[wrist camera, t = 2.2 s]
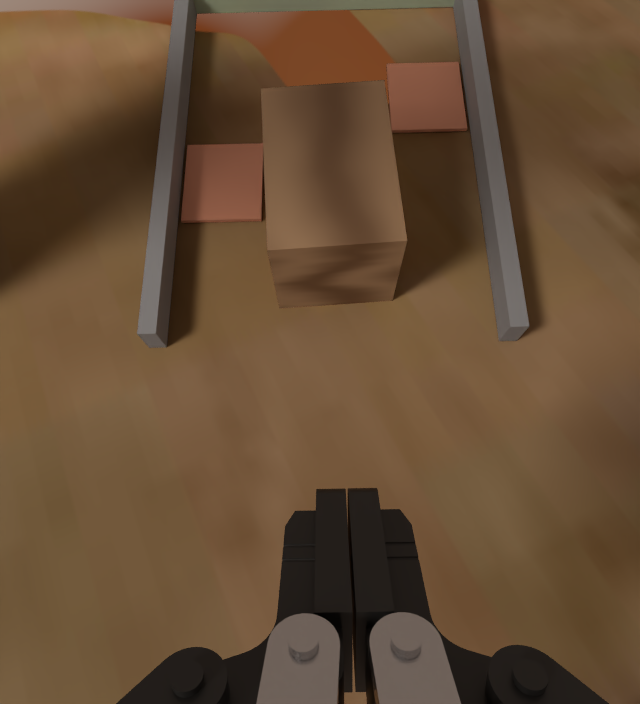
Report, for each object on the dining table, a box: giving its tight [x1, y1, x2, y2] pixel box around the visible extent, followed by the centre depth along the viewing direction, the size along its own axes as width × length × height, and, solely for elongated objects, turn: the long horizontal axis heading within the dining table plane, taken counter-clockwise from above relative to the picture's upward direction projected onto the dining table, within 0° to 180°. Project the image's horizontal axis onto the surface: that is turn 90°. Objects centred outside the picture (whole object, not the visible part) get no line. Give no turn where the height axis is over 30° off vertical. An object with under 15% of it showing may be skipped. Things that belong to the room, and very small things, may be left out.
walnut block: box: [261, 80, 407, 308], centre depth 37 cm, size 8×12×8 cm, turn 4°
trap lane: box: [137, 0, 529, 348], centre depth 40 cm, size 25×33×5 cm
